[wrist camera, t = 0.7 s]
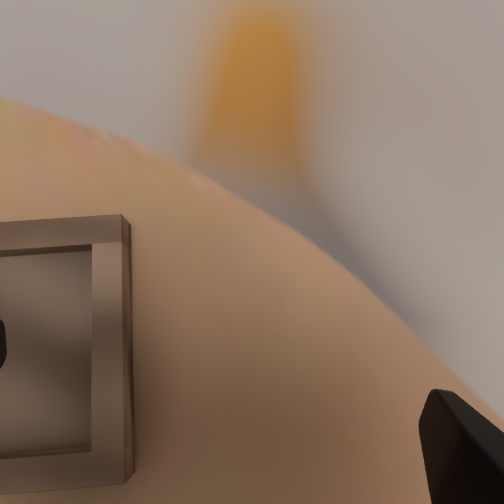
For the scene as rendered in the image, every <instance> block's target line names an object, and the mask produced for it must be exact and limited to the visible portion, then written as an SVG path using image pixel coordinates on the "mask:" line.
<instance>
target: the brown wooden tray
mask: <svg viewBox="0 0 504 504" xmlns="http://www.w3.org/2000/svg"><path fill="white" fill-rule="evenodd" d="M0 319H1V320H3V322H4V324H5V332H6V343H7V357H6V360H5V362H4V364H3V366H2V367H1V369H0V495H5V494H17V493H28V492H39V491H51V490H62V489H74V488H85V487H96V486H108V485H119V484H125V482H126V481H127V480H128V479H129V478H130V477H131V476H132V475H133V474H134V473H135V468H134V403H133V339H132V275H131V225H130V224H129V223H128V221H127V220H126V219H125V218H124V217H123V216H122V215H121V214H117V215H102V216H87V217H72V218H57V219H42V220H27V221H12V222H0Z"/></svg>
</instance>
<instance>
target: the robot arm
mask: <svg viewBox="0 0 504 504" xmlns="http://www.w3.org/2000/svg"><path fill="white" fill-rule="evenodd" d="M6 357H7V343H6V332H5V324H4V322H3V320H1V319H0V369H1V367H2V366H3V364H4V362H5V360H6ZM419 434H420V440H421V446H422V452H423V458H424V464H425V470H426V476H427V481H428V487H429V493H430V498H431V503H432V504H504V432H502V431H501V430H500V429H499V428H497V427H496V426H495V425H494V424H492V423H491V422H490V421H489V420H487V419H486V418H485V417H484V416H483V415H481V414H480V413H479V412H478V411H476V410H475V409H474V408H473V407H471V406H470V405H469V404H468V403H467V402H465V401H464V400H463V399H462V398H460V397H459V396H458V395H457V394H455V393H454V392H452V391H447V390H441V389H433V390H431V391H430V393H429V395H428V397H427V400H426V403H425V405H424V408H423V411H422V414H421V416H420V419H419Z"/></svg>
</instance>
